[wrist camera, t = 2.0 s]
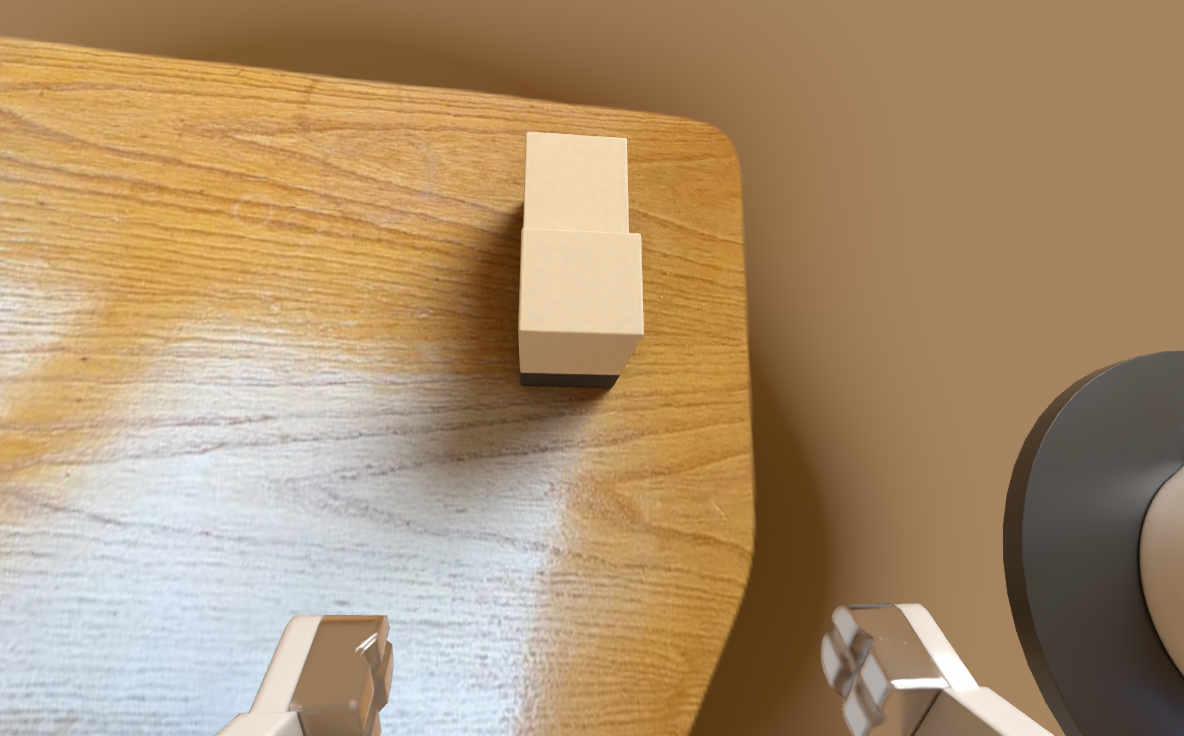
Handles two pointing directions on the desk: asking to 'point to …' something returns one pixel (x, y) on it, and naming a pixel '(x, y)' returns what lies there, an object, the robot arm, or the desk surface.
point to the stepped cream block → (577, 263)
